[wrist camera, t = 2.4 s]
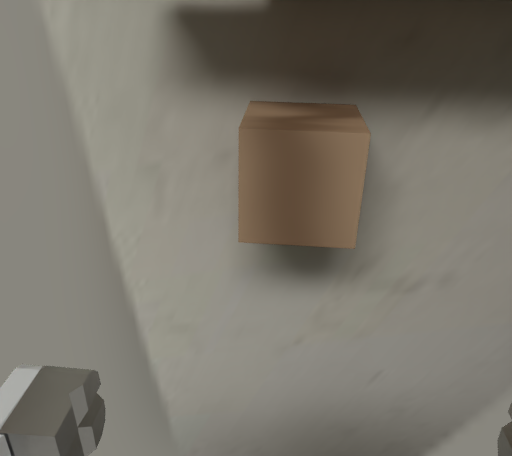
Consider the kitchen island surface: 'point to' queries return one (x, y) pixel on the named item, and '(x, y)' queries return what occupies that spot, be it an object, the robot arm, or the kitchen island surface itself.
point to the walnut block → (301, 173)
